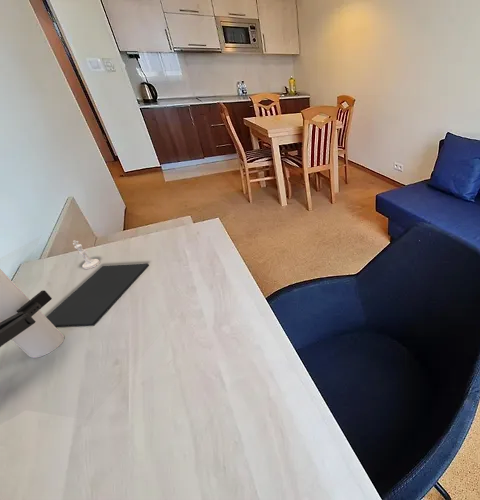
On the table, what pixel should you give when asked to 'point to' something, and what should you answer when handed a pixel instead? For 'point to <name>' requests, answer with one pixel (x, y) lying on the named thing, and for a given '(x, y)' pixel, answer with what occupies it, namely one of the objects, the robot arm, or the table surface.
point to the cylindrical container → (37, 335)
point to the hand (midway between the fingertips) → (26, 295)
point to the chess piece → (86, 257)
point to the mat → (95, 295)
